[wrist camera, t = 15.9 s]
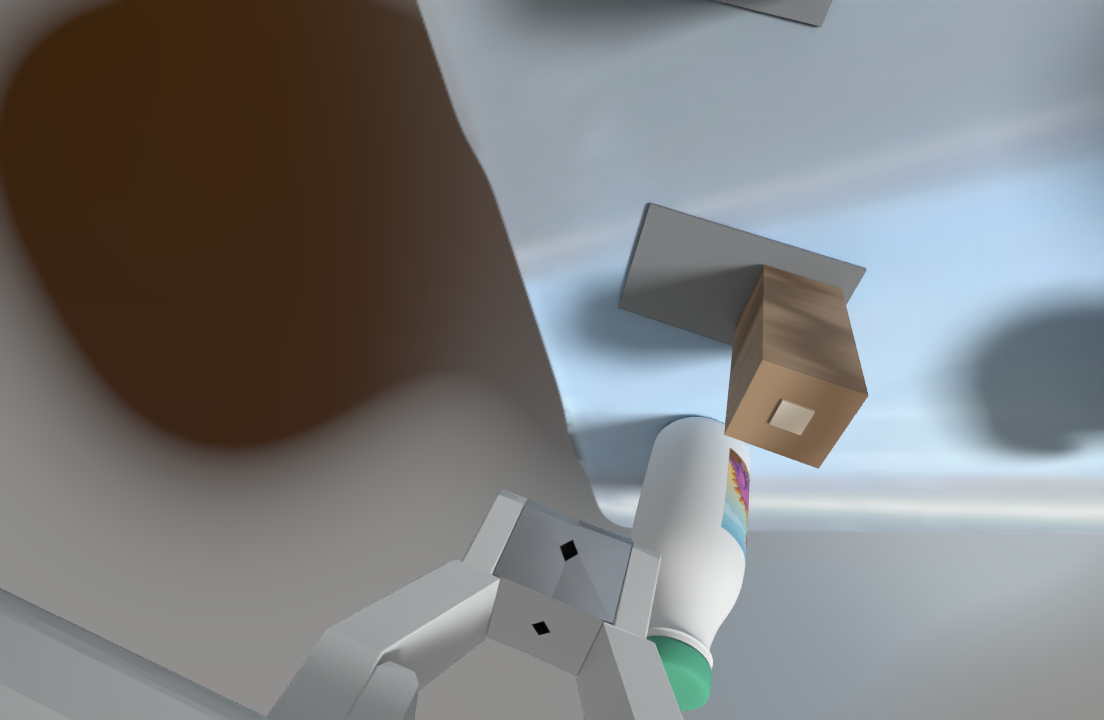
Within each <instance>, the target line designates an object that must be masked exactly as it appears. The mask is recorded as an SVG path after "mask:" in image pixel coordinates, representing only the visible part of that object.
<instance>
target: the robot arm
mask: <svg viewBox="0 0 1104 720" xmlns="http://www.w3.org/2000/svg"><path fill="white" fill-rule="evenodd" d="M660 562H661V554H660V552H659V551H657V550H654V549H652V548H649V547H647V546H644V545H642V544H639V543H636V542H634V541H633V542H632V540H631V539H628V538H625V537H623V536H620V535H617V534H615V533H612V532H610V531H607V530H604V529H602V528H599V527H596V526H594V525H591V524H588V523H586V522H583V521H581V520H579V521H578V520H575V519H573V518H571V517H568V516H566V515H564V514H561V513H559V512H557V511H554V510H552V509H549V508H547V507H545V506H543V505H540V504H538V503H535V502H533V501H531V500H528V499H526V498H523V497H521V496H519V495H516V494H514V493H511V492H508V491H506V490H504V489H502V490H501V491H500V492H499V493H498V494H497V496H496V498H495V499H494V501H493V503H492V505H491V507H490V509H489V511H488V512H487V514H486V516H485V518H484V520H483V522H482V524H481V526H480V528H479V530H478V531H477V533H476V535H475V537H474V539H473V541H472V543H471V544H470V546H469V548H468V550H467V552H466V554H465V556H464V557H463V559H462V561H459V560H456V559H452V560H450V561H449V562H447V563H445V564H443V565H441V566H439V567H437V568H436V569H434V570H432V571H430V572H428V573H427V574H425V575H423V576H421V577H420V578H418V579H416V580H414V581H412V582H410V583H409V584H407V585H405V586H403V587H402V588H400V589H398V590H396V591H395V592H393V593H391V594H389V595H387V596H385V597H384V598H382V599H380V600H378V601H376V602H375V603H373V604H371V605H369V606H367V607H366V608H364V609H362V610H360V611H358V612H357V613H355V614H353V615H351V616H349V617H348V618H346V619H344V620H342V621H340V622H339V623H337V624H335V625H333V626H332V627H330V628H328V629H327V630H326V631H325V633H324V634H323V636H322V637H321V639H320V640H319V641H318V643H317V644H316V646H315V647H314V649H313V650H312V652H311V653H310V655H309V656H308V658H307V659H306V660H305V662H304V663H303V665H302V666H301V668H300V669H299V670H298V672H297V673H296V675H295V676H294V678H293V679H292V680H291V682H290V683H289V685H288V686H287V688H286V689H285V691H284V692H283V693H282V695H281V697H280V698H279V699H278V701H277V702H276V703H275V705H274V706H273V708H272V709H271V711H270V712H269V714H268V715H267V716H264V715H262V714H260V713H258V712H256V711H254V710H252V709H250V708H247V707H245V706H243V705H241V704H239V703H237V702H235V701H233V700H231V699H229V698H227V697H225V696H223V695H220V694H219V693H216V692H214V691H212V690H210V689H208V688H206V687H204V686H202V685H200V684H198V683H196V682H194V681H192V680H190V679H188V678H185V677H183V676H181V675H179V674H177V673H175V672H173V671H171V670H169V669H167V668H165V667H163V666H161V665H159V664H157V663H154V662H152V661H150V660H148V659H146V658H144V657H142V656H140V655H138V654H136V653H134V652H132V651H130V650H128V649H126V648H124V647H122V646H119V645H117V644H115V643H113V642H111V641H109V640H107V639H105V638H103V637H101V636H99V635H97V634H95V633H92V632H91V631H88V630H86V629H84V628H82V627H80V626H78V625H76V624H74V623H72V622H70V621H68V620H66V619H64V618H62V617H60V616H57V615H55V614H53V613H51V612H49V611H47V610H45V609H43V608H41V607H39V606H37V605H35V604H32V603H31V602H28V601H26V600H24V599H22V598H20V597H18V596H16V595H14V594H12V593H10V592H8V591H6V590H4V589H2V588H0V720H414V719H415V712H416V705H417V697H418V691H419V690H421V689H422V688H423V687H425V686H426V685H427V684H428V683H430V682H431V681H432V680H434V679H435V678H436V677H437V676H439V675H440V674H441V673H443V672H444V671H445V670H446V669H448V668H449V667H450V666H452V665H453V664H454V663H456V662H457V661H458V660H459V659H461V658H462V657H463V656H465V655H466V654H467V653H468V652H470V651H471V650H472V649H474V648H475V647H476V646H477V645H479V644H480V643H481V642H482V641H484V640H485V637H488V638H490V639H493V640H496V641H498V642H500V643H503V644H505V645H508V646H510V647H513V648H515V649H518V650H520V651H523V652H525V653H528V654H530V655H532V656H534V657H537V658H539V659H541V660H543V661H545V662H547V663H550V664H552V665H554V666H556V667H558V668H560V669H562V670H564V671H567V672H569V673H571V674H573V675H575V676H577V678H576V680H577V685H578V690H579V695H580V700H581V704H582V710H583V715H584V720H683V717H682V715H681V712H680V709H679V706H678V704H677V701H676V698H675V696H674V693H673V690H672V687H671V685H670V682H669V679H668V677H667V674H666V671H665V669H664V666H663V663H662V661H661V658H660V655H659V653H658V650H657V647H656V645H655V643H654V642H652V641H649V640H647V639H646V638H647V633H648V627H649V622H650V617H651V611H652V606H653V600H654V595H655V589H656V584H657V579H658V573H659V568H660Z"/></svg>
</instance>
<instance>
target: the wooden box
mask: <svg viewBox="0 0 1104 720" xmlns="http://www.w3.org/2000/svg"><path fill="white" fill-rule="evenodd" d="M867 397H868V392H867V388H866V384H865V380H864V376H863V372H862V368H861V364H860V360H859V356H858V352H857V348H856V344H855V340H854V336H853V332H852V328H851V324H850V320H849V316H848V312H847V308H846V304H845V300H844V296H843V292H842V289H841V288H838V287H834V286H831V285H828V284H825V283H821V282H818V281H815V280H812V279H809V278H805V277H802V276H799V275H796V274H793V273H789V272H786V271H783V270H780V269H776V268H773V267H770V266H767V265H764V266H763V268H762V270H761V272H760V274H759V277H758V279H757V281H756V283H755V285H754V287H753V290H752V292H751V294H750V296H749V298H748V301H747V303H746V305H745V307H744V309H743V311H742V314H741V316H740V318H739V320H738V322H737V325H736V327H735V331H734V341H733V351H732V361H731V371H730V381H729V391H728V401H727V411H726V421H725V431H724V435H726V436H729V437H732V438H735V439H737V440H740V441H743V442H746V443H748V444H751V445H754V446H757V447H760V448H762V449H765V450H768V451H771V452H774V453H776V454H779V455H782V456H785V457H788V458H790V459H793V460H796V461H799V462H802V463H804V464H807V465H810V466H813V467H816V468H818V469H819V467H820V466H821V464H822V463H823V461H824V460H825V458H826V457H827V456H828V454H829V453H830V451H831V450H832V448H833V447H834V445H835V444H836V442H837V441H838V439H839V438H840V436H841V435H842V433H843V432H844V431H845V429H846V428H847V426H848V425H849V423H850V422H851V420H852V419H853V417H854V416H855V414H856V413H857V411H858V410H859V409H860V407H861V406H862V404H863V403H864V401H865V400H866V398H867Z"/></svg>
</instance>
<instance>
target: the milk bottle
mask: <svg viewBox="0 0 1104 720" xmlns="http://www.w3.org/2000/svg"><path fill="white" fill-rule="evenodd" d="M724 431H725V424H724V423H721V422H719V421H717V420H713V419H710V418H704V417H687V418H682V419H679V420H677V421H674V422H672V423H671V424H669V425H667V426H666V427H665V428H664V429H662V430H661V431H660V433H659V434H658V435H657V437H656V439H655V442H654V445H653V448H652V451H651V455H650V459H649V463H648V467H647V471H646V475H645V479H644V482H643V486H642V490H641V494H640V498H639V503H638V507H637V511H636V515H635V519H634V523H633V528H632V533H631V538H630V539H631V540H632V542H633V541H634V542H636V543H639V544H642V545H644V546H647V547H649V548H652V549H654V550H657V551H659V552H660V554H661V562H660V568H659V573H658V579H657V584H656V589H655V595H654V600H653V606H652V611H651V617H650V622H649V627H648V633H647V638H646V639H647V640H649V641H652V642H654V643H655V645H656V647H657V650H658V653H659V655H660V658H661V661H662V663H663V666H664V669H665V671H666V674H667V677H668V679H669V682H670V685H671V687H672V690H673V693H674V696H675V698H676V701H677V704H678V706H679V709H680V711H688V710H693V709H697V708H699V707H701V706H703V705H704V704H705V703H706V702H707V700H708V698H709V695H710V690H711V678H712V672H711V668H712V665H713V659H712V655H711V653H710V652H709V650H710V646H711V643H712V640H713V638H714V636H715V634H716V632H717V630H718V628H719V626H720V625H721V624H722V622H723V621H724V619H725V618H726V617H727V615H728V614H729V612H730V611H731V609H732V607H733V606H734V604H735V602H736V600H737V598H738V595H739V592H740V589H741V586H742V581H743V576H744V570H745V559H746V548H747V547H746V546H747V528H748V507H749V481H750V455H749V451H748V448H747V446H746V444H745V443H744V442H743V441H740V440H737V439H735V438H732V437H729V436H726V435H724Z"/></svg>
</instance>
